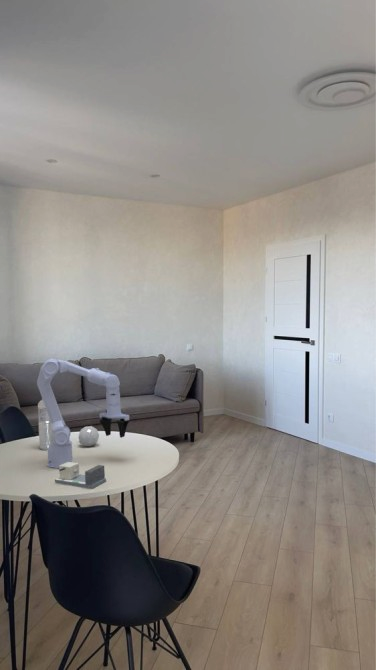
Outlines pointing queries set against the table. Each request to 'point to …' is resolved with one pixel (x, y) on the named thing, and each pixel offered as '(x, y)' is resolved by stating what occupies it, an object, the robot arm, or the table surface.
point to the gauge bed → (79, 482)
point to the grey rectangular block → (94, 475)
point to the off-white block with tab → (69, 470)
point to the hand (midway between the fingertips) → (115, 436)
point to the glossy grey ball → (88, 436)
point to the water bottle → (44, 427)
